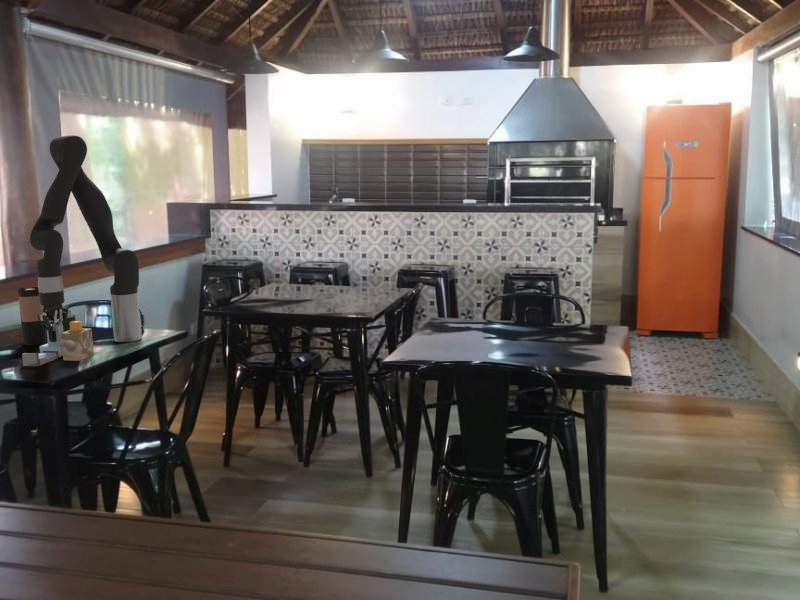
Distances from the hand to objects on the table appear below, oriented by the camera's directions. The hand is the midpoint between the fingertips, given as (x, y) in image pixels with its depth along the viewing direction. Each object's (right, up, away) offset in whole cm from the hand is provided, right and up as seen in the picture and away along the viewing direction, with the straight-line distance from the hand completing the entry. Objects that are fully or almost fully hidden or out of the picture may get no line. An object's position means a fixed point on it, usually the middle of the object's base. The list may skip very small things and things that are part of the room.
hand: (55, 340), depth 253 cm
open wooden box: (+9, -6, -2) cm, 10 cm away
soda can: (-3, -3, +16) cm, 16 cm away
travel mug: (-16, -2, +19) cm, 25 cm away
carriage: (0, -5, +1) cm, 5 cm away
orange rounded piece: (+9, +1, -4) cm, 9 cm away
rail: (0, -6, -2) cm, 6 cm away
